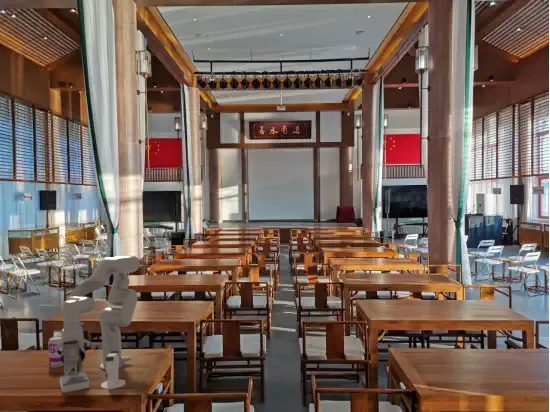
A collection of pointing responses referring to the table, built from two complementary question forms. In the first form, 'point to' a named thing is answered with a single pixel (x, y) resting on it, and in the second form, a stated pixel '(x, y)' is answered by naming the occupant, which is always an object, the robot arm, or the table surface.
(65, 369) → the coffee box
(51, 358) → the supplement can
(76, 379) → the pedestal
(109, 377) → the white upright piece
